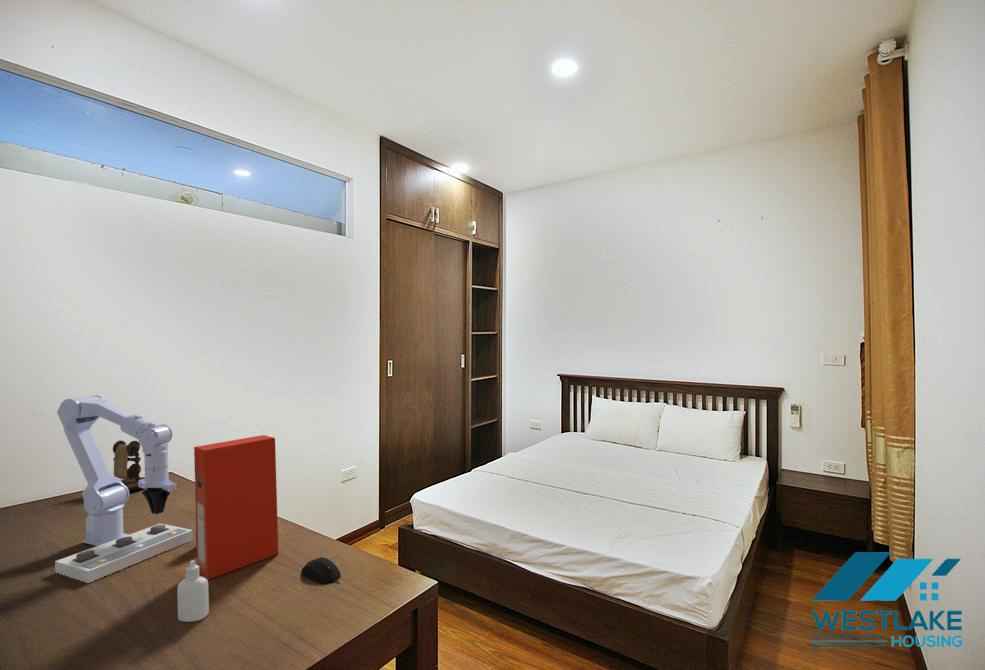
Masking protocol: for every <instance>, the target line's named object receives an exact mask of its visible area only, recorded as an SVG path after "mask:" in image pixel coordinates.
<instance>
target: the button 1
mask: <svg viewBox="0 0 985 670" xmlns="http://www.w3.org/2000/svg"><path fill="white" fill-rule="evenodd" d="M87 550H88V549H87ZM83 551H84V552H82V551H80V552H81V553H79V552H78V553H79V554H77V553H76V554H77V555H76V558H77V562H78V563H82V562H85V561H87V560H90V559H92V558H95V551H94V550H88V551H85V550H83Z"/></svg>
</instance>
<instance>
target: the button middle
mask: <svg viewBox="0 0 985 670" xmlns="http://www.w3.org/2000/svg"><path fill="white" fill-rule="evenodd" d="M130 544H132V537H130V536H129V537H123V538H120V539H118V540H116V547H118V548H122V547H124V546H127V545H130Z"/></svg>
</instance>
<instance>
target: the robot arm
mask: <svg viewBox="0 0 985 670" xmlns="http://www.w3.org/2000/svg"><path fill="white" fill-rule="evenodd" d="M56 414H57V416H58V418H59V420H60V423H61V424H62V427H63V432H64V435H65V436H66V439H67V440H68V443H69V445H70V447H71V450H72V452H73V454H74V456H75V459H76V461H77V463H78V465H79V467H80V470H81V471H82V474H83V476H84V478H85V480H86V482H87V486H86V487H85V488H84V490H83V491H82V493H81V496H82V499H83V507H84V510H85V511H86V512H87V513H88V515H87V516H86V518H85V537H86V539H84V540H82V543H83V544H88V545H91V546H93V547H96V546H99V545H102V544H104V543H107V542H110V541H113V540H116V539H118V538H121V537H124V536H127V535H129V534H130V533H125V532H124V509H123V507H126V506H125V505H126V504H125V503H126V502H127V501H128V500H129V498H130V490H128V488H127V487H126V486H125V485H124V484H123V483H122V481H121V479H120V478H117V477H114V475H111V472H110V471H109V469H108V466H107V464H106V462H105V460H104V458H103V456H102V454H101V452H100V449H99V447H98V444H97V443H96V441H95V437H94V436H93V435H92V432H91V427H92V425H94V424H95V423H96V421H98V419H100V418H102V419H103V420H106V421H108V422H111V423H113V424H116V425H118V426H120V431H121V432H122V433H125V434H126V435H129V436H131V437H132V438H134V439H136V440H138V442H139V444H140V447H141V448H142V451H141V452H142V453H143V456H144V458H143V459H144V460H143V461H144V478H145V479H142V480H139V481H138V486H139V487H141V489H145V490H142V492H141V494H142V495H143V497H144V498H145V499H146V501H147V504H148V506H149V510H150V512H151V514H155V515H159V514H162V513H164V511H165V508H166V503H167V500H168V498H169V496H170V494H171V493H172V492H173V491H176V490H177V483H175V482H173V481H172V480H170V479H169V445H168V443H169V442H171V440H172V438H173V431H172V429H171V427H170V426H168V425H167V424H156V422H154V421H150V420H147V419H146V418H143V414H139V413H137V414H131V415H129V414H127V413H126V412H124V411H122V410H121V409H119V408H118V407H116V406H114V405H112V404H111V403H109V401H108V399H107V398H104V397H102V396H101V395H97V394H95V395H91V396H83V397H76V398H66V399H64V400H63V401H61V403H60V405H59V407H58V410H57V411H56ZM105 488H106V489H105Z"/></svg>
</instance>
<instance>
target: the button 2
mask: <svg viewBox="0 0 985 670" xmlns="http://www.w3.org/2000/svg"><path fill="white" fill-rule="evenodd" d="M164 524H165V523H161V525H157V524H155V525H156V526H154V525H152V526H153V527H152V526H150V527H151V528H150V529H151V534H153V535H156V534H159V533H161V532H164V531H165V525H164Z"/></svg>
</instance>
